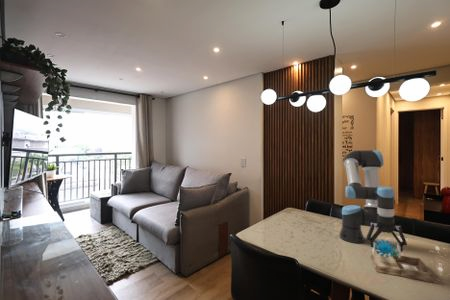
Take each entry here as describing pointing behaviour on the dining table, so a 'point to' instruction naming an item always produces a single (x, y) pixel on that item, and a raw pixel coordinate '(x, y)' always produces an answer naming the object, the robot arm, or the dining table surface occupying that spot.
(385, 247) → the gear
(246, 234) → the dining table surface
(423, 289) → the dining table surface
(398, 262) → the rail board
